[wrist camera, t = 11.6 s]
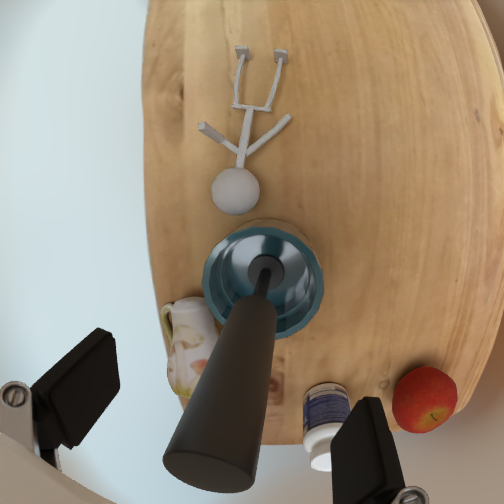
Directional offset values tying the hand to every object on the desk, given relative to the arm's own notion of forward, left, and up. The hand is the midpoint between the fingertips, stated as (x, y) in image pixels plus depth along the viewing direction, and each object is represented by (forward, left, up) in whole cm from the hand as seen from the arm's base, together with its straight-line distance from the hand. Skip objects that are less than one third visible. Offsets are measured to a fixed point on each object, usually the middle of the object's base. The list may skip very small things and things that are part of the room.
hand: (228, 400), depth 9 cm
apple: (-2, +23, -17) cm, 29 cm away
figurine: (-8, -9, -17) cm, 21 cm away
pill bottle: (+7, +16, -17) cm, 25 cm away
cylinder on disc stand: (0, 0, -16) cm, 16 cm away
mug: (+10, 0, -17) cm, 20 cm away
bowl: (0, 0, -17) cm, 17 cm away
